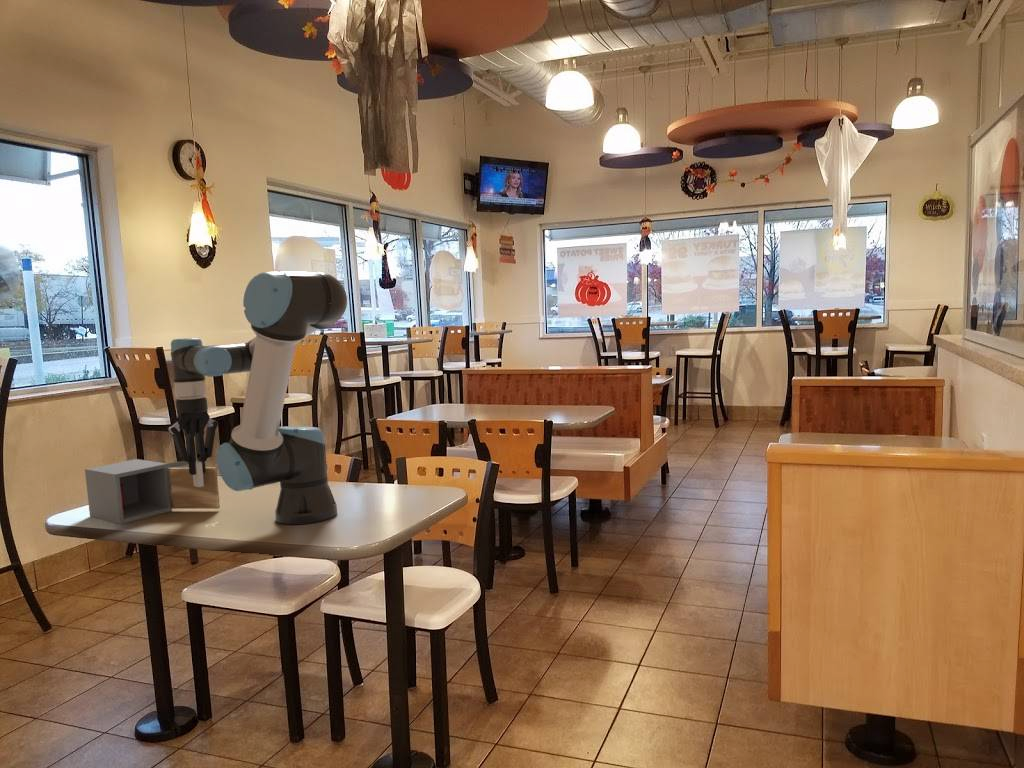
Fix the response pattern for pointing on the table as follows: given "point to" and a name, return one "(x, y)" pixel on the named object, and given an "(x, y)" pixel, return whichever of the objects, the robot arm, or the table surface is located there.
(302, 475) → the robot arm
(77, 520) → the table surface
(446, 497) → the table surface
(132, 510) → the grey open box
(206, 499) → the wooden cabinet door
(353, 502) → the table surface
